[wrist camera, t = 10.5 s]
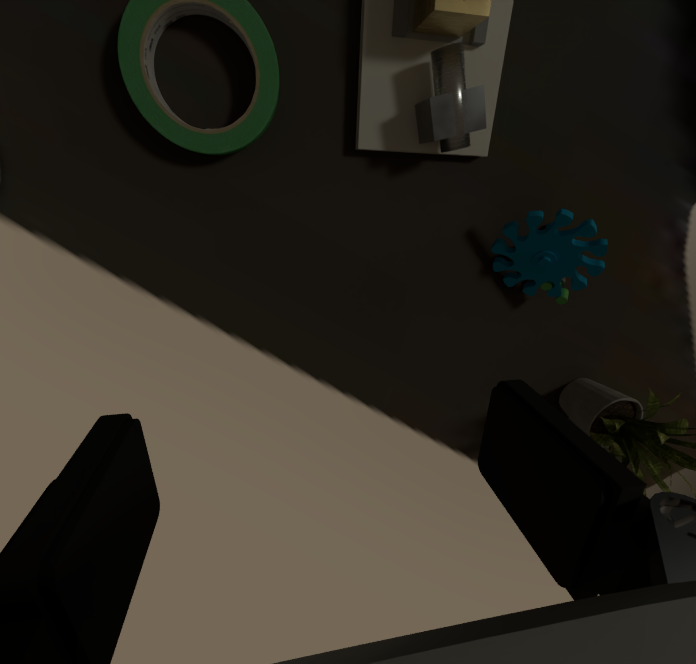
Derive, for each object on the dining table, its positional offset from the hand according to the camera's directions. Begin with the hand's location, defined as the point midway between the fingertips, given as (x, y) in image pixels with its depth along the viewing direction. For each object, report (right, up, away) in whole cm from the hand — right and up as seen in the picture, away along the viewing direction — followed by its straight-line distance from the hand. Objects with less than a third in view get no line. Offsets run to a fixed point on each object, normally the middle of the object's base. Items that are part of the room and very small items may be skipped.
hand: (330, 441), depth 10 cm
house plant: (+32, -4, +39) cm, 50 cm away
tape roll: (-11, +23, +19) cm, 32 cm away
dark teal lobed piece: (+19, +11, +30) cm, 37 cm away
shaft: (+8, +22, +22) cm, 32 cm away
